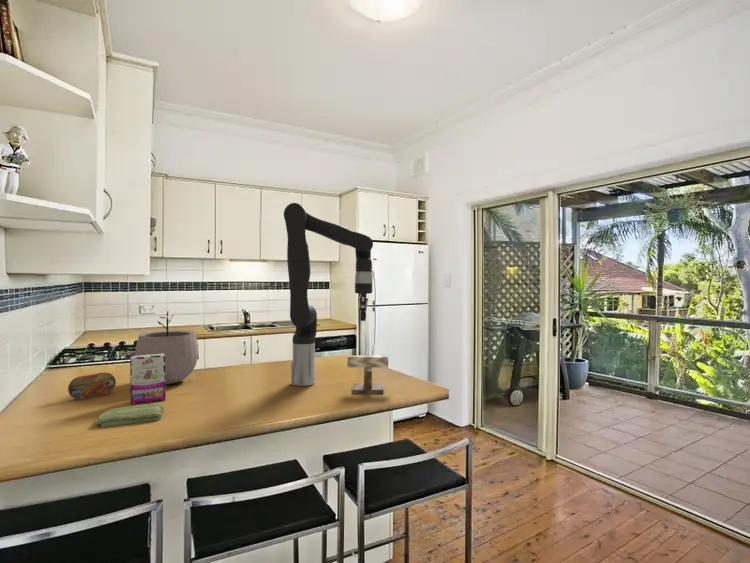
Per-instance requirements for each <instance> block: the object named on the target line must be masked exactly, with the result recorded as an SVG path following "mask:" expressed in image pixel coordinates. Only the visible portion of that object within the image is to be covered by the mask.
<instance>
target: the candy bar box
mask: <svg viewBox="0 0 750 563" xmlns="http://www.w3.org/2000/svg"><path fill="white" fill-rule="evenodd" d="M129 361H130V362H129V364H130V365H129V369H130V374H129V375H130V378H129V379H130V381H129V382H130V400H129V401H130V404H131V405H136V404H145V403H155V402H160V401H166V384H165V353H163V354H150V355H137V356H135V355H131V356H130V357H129Z"/></svg>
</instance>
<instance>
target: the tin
mask: <svg viewBox="0 0 750 563" xmlns="http://www.w3.org/2000/svg"><path fill="white" fill-rule="evenodd" d="M116 383H117V382H116V378H115V376H114V375H113V374H112V373H109V372H99V373H93V374H87V375H81V376H77V377H74V378H73V379H72V380H71V381H70V383H69V384H68V385H67V387H68V388H67V392H68V394H69V395H70V397H72V399H76V400H78V401H83V400H87V399H88V400H89V399H92V398H97V397H101V396H106V395H108V394H110V393H111V392H112V391H114V389H115V387H116Z"/></svg>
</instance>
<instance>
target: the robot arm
mask: <svg viewBox="0 0 750 563" xmlns="http://www.w3.org/2000/svg"><path fill="white" fill-rule="evenodd" d="M283 218H284V223H285V226H286V227H285V228H286V233H287V234H286V235H287V247H286V249H287V251H286V252H287V253H286V254H287V256H286V260H287V261H286V262H287V272H288V283H289V296H290V298H289V301H290V302H289V319H290V322H291V324H293V326H295V331H294V334H293V335H292V361H291V365H290V366H291V367H290V368H291V372H290V374H291V375H290V377H291V378H290V379H291V380H290V381H291V383H290V385H291V386H297V387H308V386H312V385H315V379H316V378H315V372H316V370H315V368H316V364H315V362H316V361H315V359H316V356H315V355H316V348H315V347H316V343H315V342H316V341H315V340H316V336H317V328H318V323H317V322H318V313H317V311H316V309H315V307H314V306H313V305H311V304H309V300H308V298H309V297H308V289H309V284H310V278H311V260H310V259H311V258H310V252H309V247H308V242H307V237H306V231H309V232H312V233H315V234H317V235H320V236H322V237H324V238H327V239H329V240H331V241H334V242H336V243H339V244H342V245H344V246H349V247H352V248H354V249H355V275H354V293H355V294H360V295H359V297H358V303H359V304H358V307H359V313H360V314H359V316H360V319H359V320H360V321H361V322H365V321H366V318H367V308H368V302H369V297H368V296H367V294H370V295H371V294H372V293H373V273H372V271H373V262H372V252H371V251H372V249H373V246H374V241H373V239H372V238H371V237H370V236H369V235H367V234H364V233H362V232H357V231H355V230H354V231H353V230H352V229H350V228H347V227H345V226H342V225H340V224H337V223H335V222H331V221H328V220H323V219H320V218H318V217H316V216H313V215H311V214H309V213H308V212H307V211H306V209H305V208H304V206H303V205H301V204H300V203H298V202H292V203H289V204H288V205H286V207H285V208H284V210H283Z"/></svg>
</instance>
